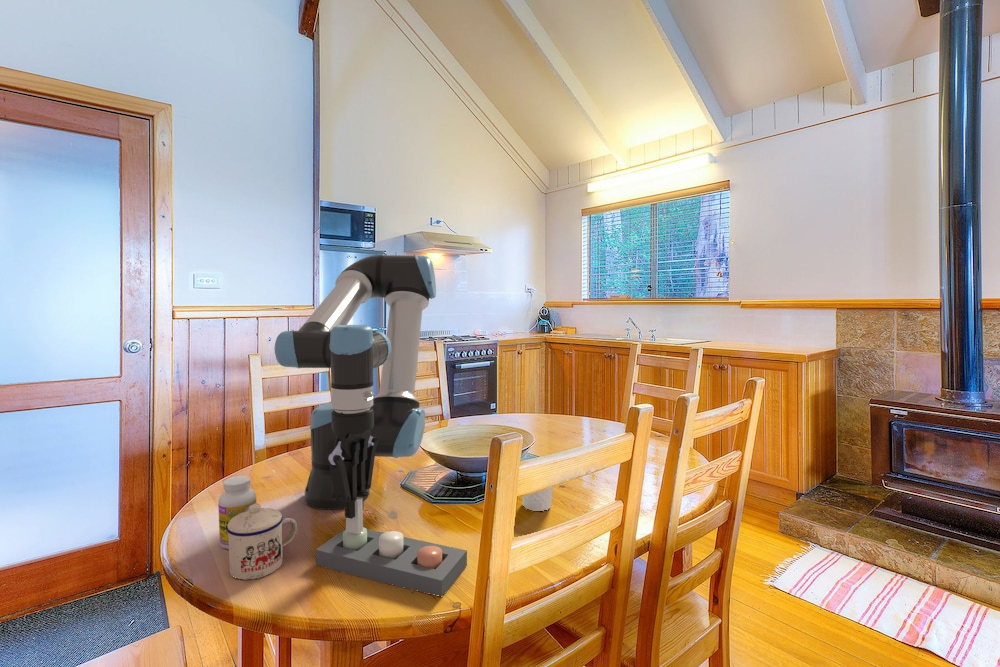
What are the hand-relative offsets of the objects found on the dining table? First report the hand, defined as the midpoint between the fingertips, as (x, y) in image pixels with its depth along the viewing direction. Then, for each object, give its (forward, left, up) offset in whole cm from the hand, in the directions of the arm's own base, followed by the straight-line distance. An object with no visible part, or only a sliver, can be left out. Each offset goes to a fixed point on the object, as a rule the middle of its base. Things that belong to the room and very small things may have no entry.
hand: (354, 531), depth 92 cm
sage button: (0, 0, -4) cm, 4 cm away
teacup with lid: (-14, -8, -5) cm, 17 cm away
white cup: (+26, +34, -5) cm, 43 cm away
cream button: (+8, 0, -3) cm, 9 cm away
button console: (+8, 0, -5) cm, 9 cm away
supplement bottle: (-25, -4, -5) cm, 26 cm away
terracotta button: (+16, 0, -4) cm, 17 cm away
